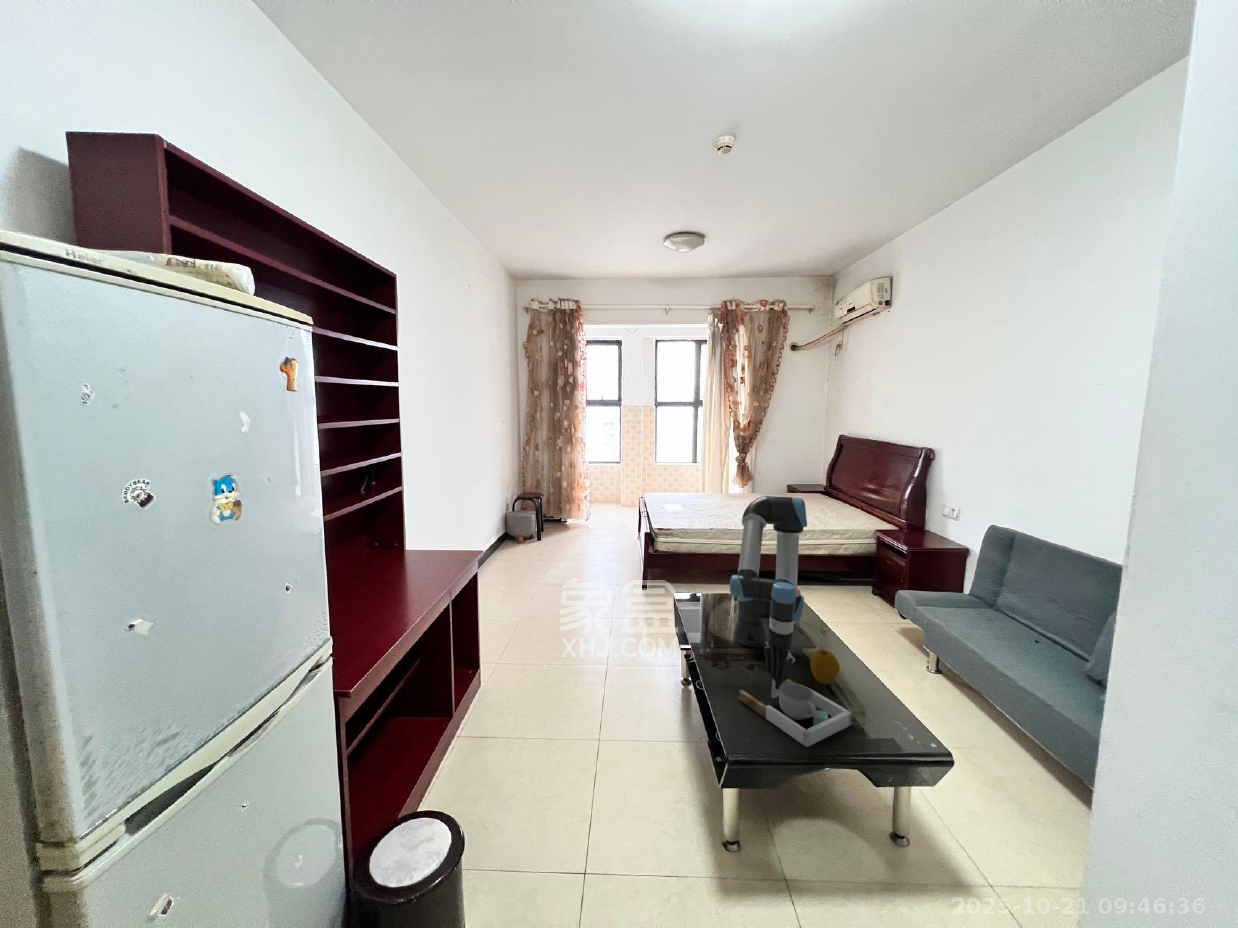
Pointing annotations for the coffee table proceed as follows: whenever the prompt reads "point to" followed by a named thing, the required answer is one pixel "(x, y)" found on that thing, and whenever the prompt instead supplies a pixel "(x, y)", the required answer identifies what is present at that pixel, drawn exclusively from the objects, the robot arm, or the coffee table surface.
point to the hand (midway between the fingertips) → (775, 696)
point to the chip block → (820, 717)
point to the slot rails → (756, 701)
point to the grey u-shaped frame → (819, 731)
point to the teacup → (797, 701)
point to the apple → (824, 666)
